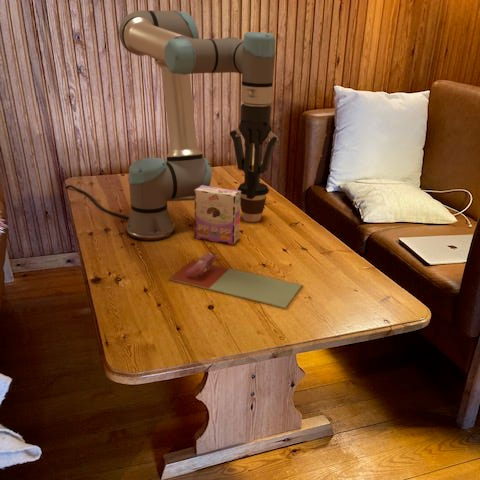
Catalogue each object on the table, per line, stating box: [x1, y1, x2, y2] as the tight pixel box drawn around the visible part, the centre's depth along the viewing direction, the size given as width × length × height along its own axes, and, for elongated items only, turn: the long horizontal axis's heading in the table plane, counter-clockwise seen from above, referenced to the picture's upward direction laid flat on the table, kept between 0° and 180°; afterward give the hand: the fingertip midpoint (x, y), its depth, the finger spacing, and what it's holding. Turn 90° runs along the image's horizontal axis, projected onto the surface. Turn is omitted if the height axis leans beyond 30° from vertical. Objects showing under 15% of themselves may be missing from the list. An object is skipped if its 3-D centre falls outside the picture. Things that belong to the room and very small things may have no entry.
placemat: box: [169, 259, 303, 310], centre depth 148 cm, size 34×14×1 cm, turn 67°
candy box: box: [194, 185, 241, 246], centre depth 170 cm, size 14×6×16 cm, turn 69°
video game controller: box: [186, 252, 218, 278], centre depth 150 cm, size 10×5×7 cm, turn 156°
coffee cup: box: [237, 182, 270, 223], centre depth 188 cm, size 11×11×12 cm
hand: (251, 197), depth 143 cm, fingers closed
